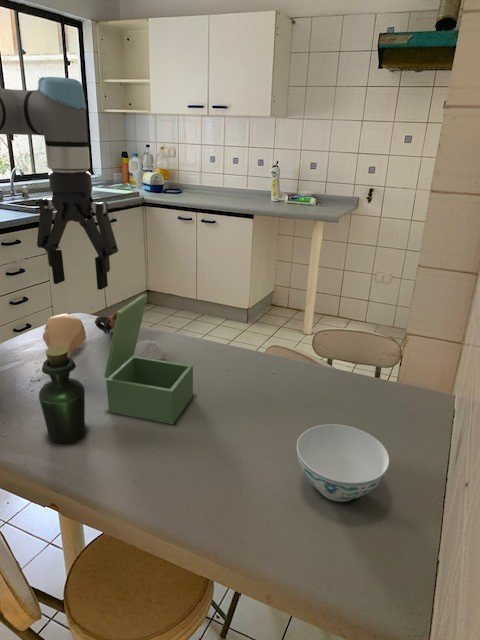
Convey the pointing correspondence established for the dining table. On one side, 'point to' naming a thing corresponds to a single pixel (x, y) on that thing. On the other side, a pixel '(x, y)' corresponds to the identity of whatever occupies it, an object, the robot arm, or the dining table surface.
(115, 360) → the chest lid
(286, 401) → the dining table surface
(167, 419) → the chest
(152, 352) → the stone block
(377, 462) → the chinaware
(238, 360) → the dining table surface
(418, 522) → the dining table surface
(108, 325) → the brown curved loop piece
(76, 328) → the squash
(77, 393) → the potion bottle
